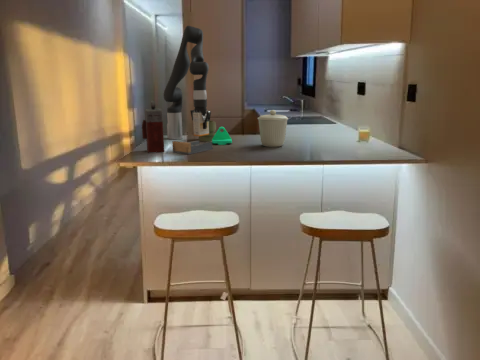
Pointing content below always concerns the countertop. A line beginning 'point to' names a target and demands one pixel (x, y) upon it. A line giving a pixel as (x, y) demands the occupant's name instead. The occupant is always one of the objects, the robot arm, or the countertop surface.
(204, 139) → the piston
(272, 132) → the canister
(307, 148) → the countertop surface
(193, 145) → the rail
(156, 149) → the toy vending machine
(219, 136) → the camera mount
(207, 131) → the supplement box
